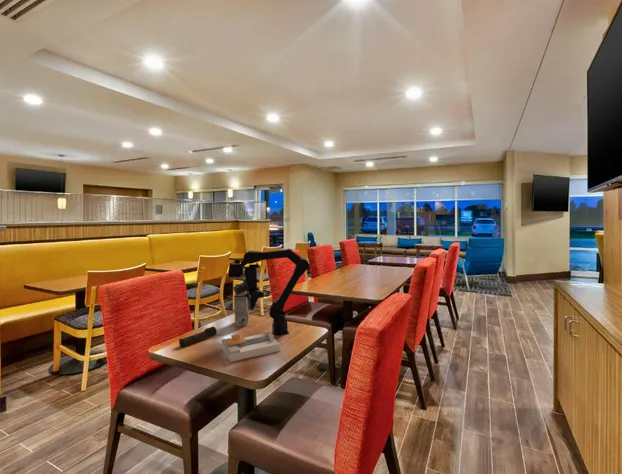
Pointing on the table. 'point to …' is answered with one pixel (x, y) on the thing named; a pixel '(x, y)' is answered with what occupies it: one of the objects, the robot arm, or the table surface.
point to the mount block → (250, 348)
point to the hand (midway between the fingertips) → (251, 309)
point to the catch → (236, 340)
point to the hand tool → (198, 336)
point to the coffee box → (241, 310)
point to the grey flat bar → (254, 341)
